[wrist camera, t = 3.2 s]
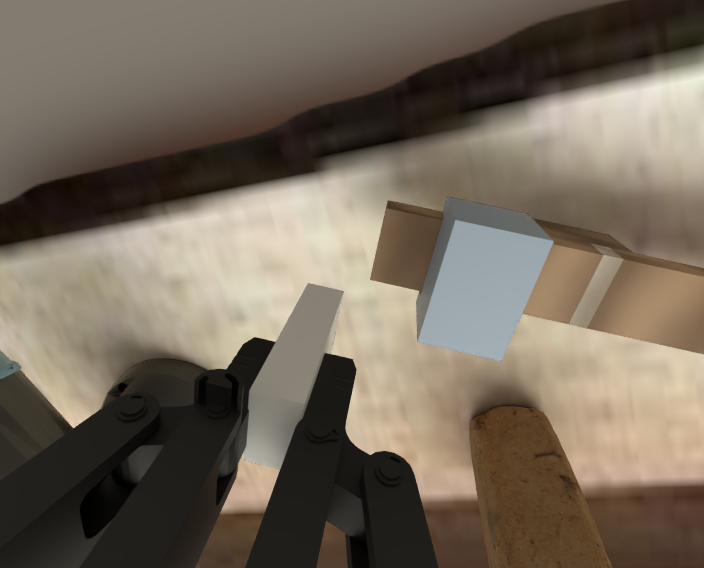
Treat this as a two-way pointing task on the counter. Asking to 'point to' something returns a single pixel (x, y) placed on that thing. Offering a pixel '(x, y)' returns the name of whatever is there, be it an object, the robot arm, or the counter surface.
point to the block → (530, 494)
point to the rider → (479, 278)
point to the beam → (569, 280)
